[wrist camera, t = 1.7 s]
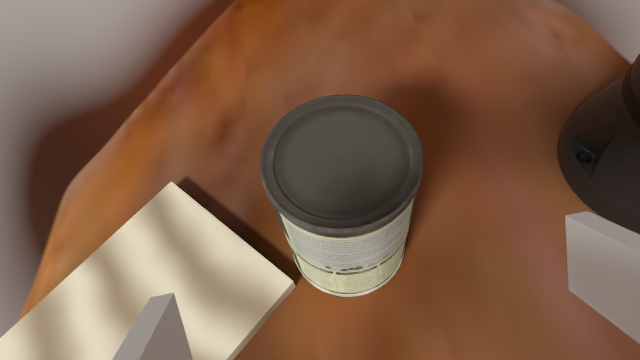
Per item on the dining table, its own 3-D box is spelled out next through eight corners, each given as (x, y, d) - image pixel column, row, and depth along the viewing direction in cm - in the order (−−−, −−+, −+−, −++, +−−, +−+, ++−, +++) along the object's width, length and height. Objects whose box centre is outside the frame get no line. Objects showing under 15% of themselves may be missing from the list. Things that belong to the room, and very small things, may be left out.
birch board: (176, 188, 44) (171, 181, 43) (295, 286, 38) (293, 281, 37) (0, 353, 37) (-13, 350, 36) (110, 504, 31) (99, 507, 30)
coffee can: (269, 234, 41) (229, 148, 29) (355, 173, 43) (352, 70, 31) (338, 324, 36) (326, 267, 24) (430, 249, 39) (460, 163, 27)
